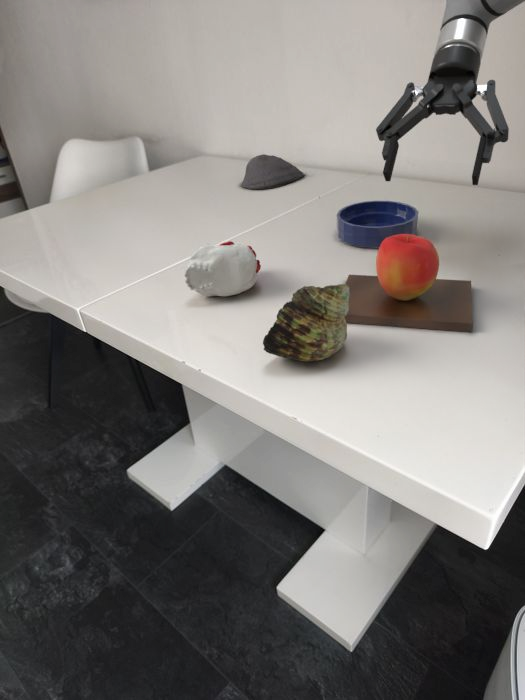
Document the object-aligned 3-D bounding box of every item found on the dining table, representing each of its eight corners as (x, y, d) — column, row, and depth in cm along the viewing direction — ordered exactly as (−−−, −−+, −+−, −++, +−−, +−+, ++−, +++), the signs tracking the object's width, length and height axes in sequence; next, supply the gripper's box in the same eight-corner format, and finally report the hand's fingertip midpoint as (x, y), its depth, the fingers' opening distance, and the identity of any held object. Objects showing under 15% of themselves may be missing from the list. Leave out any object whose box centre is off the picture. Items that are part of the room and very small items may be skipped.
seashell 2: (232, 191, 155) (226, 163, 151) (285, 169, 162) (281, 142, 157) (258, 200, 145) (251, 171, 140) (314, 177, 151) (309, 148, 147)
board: (469, 288, 89) (471, 280, 88) (471, 332, 78) (472, 323, 77) (348, 282, 94) (348, 274, 94) (334, 321, 83) (333, 313, 83)
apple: (423, 315, 80) (428, 252, 74) (363, 303, 84) (364, 243, 79) (443, 289, 86) (449, 229, 81) (386, 278, 91) (389, 221, 86)
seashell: (274, 332, 82) (269, 272, 77) (350, 333, 80) (350, 271, 75) (263, 372, 74) (256, 307, 68) (347, 374, 71) (347, 308, 66)
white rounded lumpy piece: (184, 303, 92) (220, 276, 104) (246, 308, 88) (275, 279, 101) (178, 251, 88) (216, 229, 100) (242, 255, 84) (273, 231, 97)
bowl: (419, 221, 116) (420, 201, 114) (414, 251, 103) (415, 228, 101) (344, 220, 121) (344, 200, 118) (330, 248, 108) (330, 226, 106)
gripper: (540, 72, 86) (514, 194, 83) (385, 78, 96) (358, 187, 93) (544, 36, 79) (516, 168, 76) (377, 47, 89) (347, 163, 86)
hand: (429, 179), depth 85 cm, fingers open, 13 cm apart
